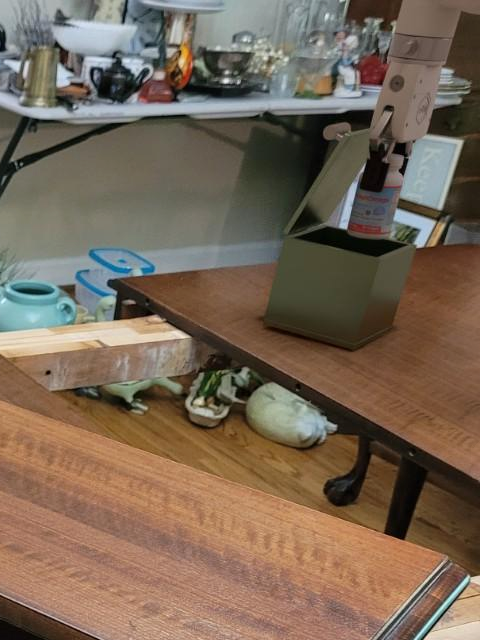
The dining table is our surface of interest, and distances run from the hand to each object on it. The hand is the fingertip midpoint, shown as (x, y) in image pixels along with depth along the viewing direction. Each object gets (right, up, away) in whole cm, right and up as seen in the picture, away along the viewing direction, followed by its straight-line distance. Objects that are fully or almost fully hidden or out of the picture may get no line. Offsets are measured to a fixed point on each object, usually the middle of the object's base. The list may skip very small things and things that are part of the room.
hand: (380, 186), depth 159 cm
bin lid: (-5, +2, +4) cm, 6 cm away
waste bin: (-3, -17, +13) cm, 22 cm away
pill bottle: (0, -6, +4) cm, 7 cm away
